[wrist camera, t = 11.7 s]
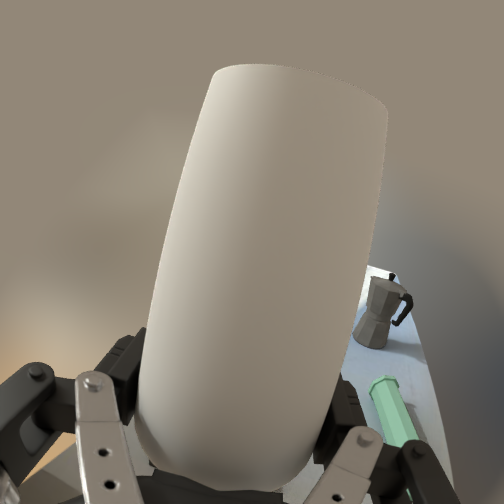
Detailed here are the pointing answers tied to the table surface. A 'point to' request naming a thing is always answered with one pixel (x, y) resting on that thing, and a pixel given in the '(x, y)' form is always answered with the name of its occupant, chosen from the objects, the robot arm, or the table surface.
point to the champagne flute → (260, 276)
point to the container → (392, 412)
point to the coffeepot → (381, 311)
